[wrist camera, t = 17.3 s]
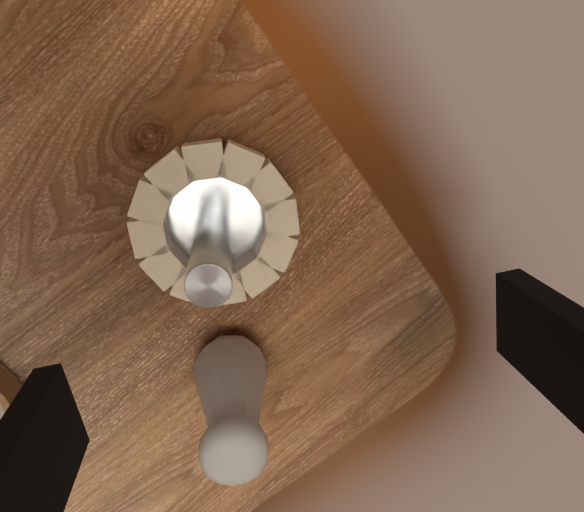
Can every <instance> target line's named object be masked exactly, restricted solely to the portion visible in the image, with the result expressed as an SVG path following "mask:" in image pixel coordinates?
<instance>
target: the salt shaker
mask: <svg viewBox="0 0 584 512" xmlns="http://www.w3.org/2000/svg"><path fill="white" fill-rule="evenodd" d="M266 367H267V362H266V360H265V358H264V356H263V354H262V352H261V350H260V348H259V347H258V346H256V345H255V344H254V343H253V342H251V341H250V340H249V339H247V338H246V337H244V336H242V335H220V336H219V337H217V338H216V339H215V340H213V341H212V342H211V343H209V344H208V345H206V346H205V347H204V348H203V349H202V351H201V353H200V354H199V356H198V358H197V359H196V361H195V363H194V376H195V382H196V385H197V389H198V393H199V396H200V400H201V403H202V407H203V411H204V414H205V418H206V422H207V425H208V428H207V429H206V431H205V433H204V434H203V436H202V438H201V439H200V445H199V460H200V465H201V468H202V469H203V471H204V473H205V475H206V476H207V477H208V478H209V479H211V480H213V481H214V482H216V483H218V484H222V485H229V486H237V485H241V484H245V483H248V482H250V481H251V480H253V479H254V478H256V477H257V476H259V475H260V474H261V472H262V470H263V469H264V467H265V466H266V464H267V456H268V439H267V436H266V434H265V432H264V431H263V429H262V427H261V425H260V424H259V417H260V409H261V402H262V396H263V390H264V385H265V379H266Z"/></svg>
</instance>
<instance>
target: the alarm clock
mask: <svg viewBox="0 0 584 512" xmlns="http://www.w3.org/2000/svg"><path fill="white" fill-rule="evenodd" d="M21 387H22V385H21V383H20V382H19V380H18V378H17V376H16V375H14V374H13V373H12V372H11V371H10V370H9V369H8V368H7V367H6V366H4V365H3V364H2V363H1V362H0V419H1V418H2V416H3V415H4V413H5V412H6V410H7V408H8V407H9V405H10V404H11V402H12V401H13V399H14V398H15V396H16V395H17V393H18V392H19V390H20V389H21Z"/></svg>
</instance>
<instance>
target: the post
mask: <svg viewBox="0 0 584 512" xmlns="http://www.w3.org/2000/svg"><path fill="white" fill-rule="evenodd" d="M167 220H168V225H169V230H170V235H171V239H172V240H173V242H174V243H175V244H176V245H177V246H178V247H179V248H180V249H181V250H182V252H183V253H184V254H185V255H186V256H187V257H188V258H189V261H188V266H187V271H186V276H185V281H184V290H185V293H186V295H187V297H188V299H189V300H190V301H191V302H192V303H194V304H195V305H197V306H200V307H203V308H213V307H217V306H220V305H221V304H223V303H224V302H225V301H227V299H228V298H229V297H230V295H231V293H232V289H233V281H232V263H235V262H237V261H238V260H240V259H241V258H242V257H244V256H245V255H246V254H247V253H249V252H250V251H251V250H253V249H254V248H255V246H256V244H257V242H258V239H259V237H260V235H261V232H262V230H263V227H264V221H263V214H262V206H261V205H260V204H259V203H258V201H257V200H256V199H255V198H254V196H253V195H252V194H251V193H250V191H249V190H248V189H247V188H246V187H243V186H241V185H238V184H236V183H233V182H231V181H228V180H226V179H223V178H215V179H207V180H200V181H193V182H192V183H191V184H190V185H188V186H187V187H186V188H184V189H183V190H182V191H181V192H179V193H178V194H177V195H176V196H174V197H173V199H172V201H171V204H170V207H169V210H168V212H167Z"/></svg>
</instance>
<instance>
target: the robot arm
mask: <svg viewBox="0 0 584 512" xmlns="http://www.w3.org/2000/svg"><path fill="white" fill-rule="evenodd" d="M496 322H497V323H496V327H497V351H498V352H499V353H500V354H501V355H502V356H503V357H504V358H505V359H506V360H507V361H508V362H509V363H510V364H511V365H512V366H513V367H514V368H516V370H518V371H519V372H520V373H521V374H522V375H523V376H524V377H525V378H526V379H527V380H528V381H529V382H530V383H531V384H532V385H533V386H534V387H535V388H536V389H538V391H540V392H541V393H542V394H543V395H544V396H545V397H546V398H547V399H548V400H549V401H550V402H551V403H552V404H553V405H554V406H555V407H556V408H557V409H558V410H560V412H562V413H563V414H564V415H565V416H566V417H567V418H568V419H569V420H570V421H571V422H572V423H573V424H574V425H575V426H576V427H577V428H578V429H579V430H580V431H582V432H583V433H584V308H583V307H581V306H580V305H578V304H577V303H575V302H573V301H572V300H570V299H569V298H567V297H565V296H564V295H562V294H560V293H559V292H557V291H555V290H554V289H552V288H551V287H549V286H547V285H545V284H544V283H542V282H541V281H539V280H537V279H536V278H534V277H532V276H531V275H529V274H527V273H526V272H524V271H522V270H521V269H515V270H510V271H505V272H500V273H496ZM88 443H89V437H88V435H87V432H86V429H85V427H84V424H83V421H82V419H81V416H80V413H79V411H78V408H77V405H76V403H75V400H74V397H73V394H72V392H71V389H70V386H69V384H68V381H67V378H66V376H65V373H64V370H63V368H62V365H61V363H60V364H55V365H50V366H45V367H40V368H35V369H33V370H32V372H31V373H30V375H29V376H28V378H27V379H26V381H25V383H24V384H23V386H22V387H21V389H20V390H19V392H18V393H17V395H16V396H15V398H14V399H13V401H12V402H11V404H10V405H9V407H8V408H7V410H6V412H5V413H4V415H3V416H2V418H1V419H0V512H64V509H65V506H66V503H67V501H68V498H69V495H70V492H71V490H72V487H73V484H74V481H75V479H76V476H77V473H78V470H79V468H80V465H81V462H82V459H83V457H84V454H85V451H86V449H87V446H88Z"/></svg>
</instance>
